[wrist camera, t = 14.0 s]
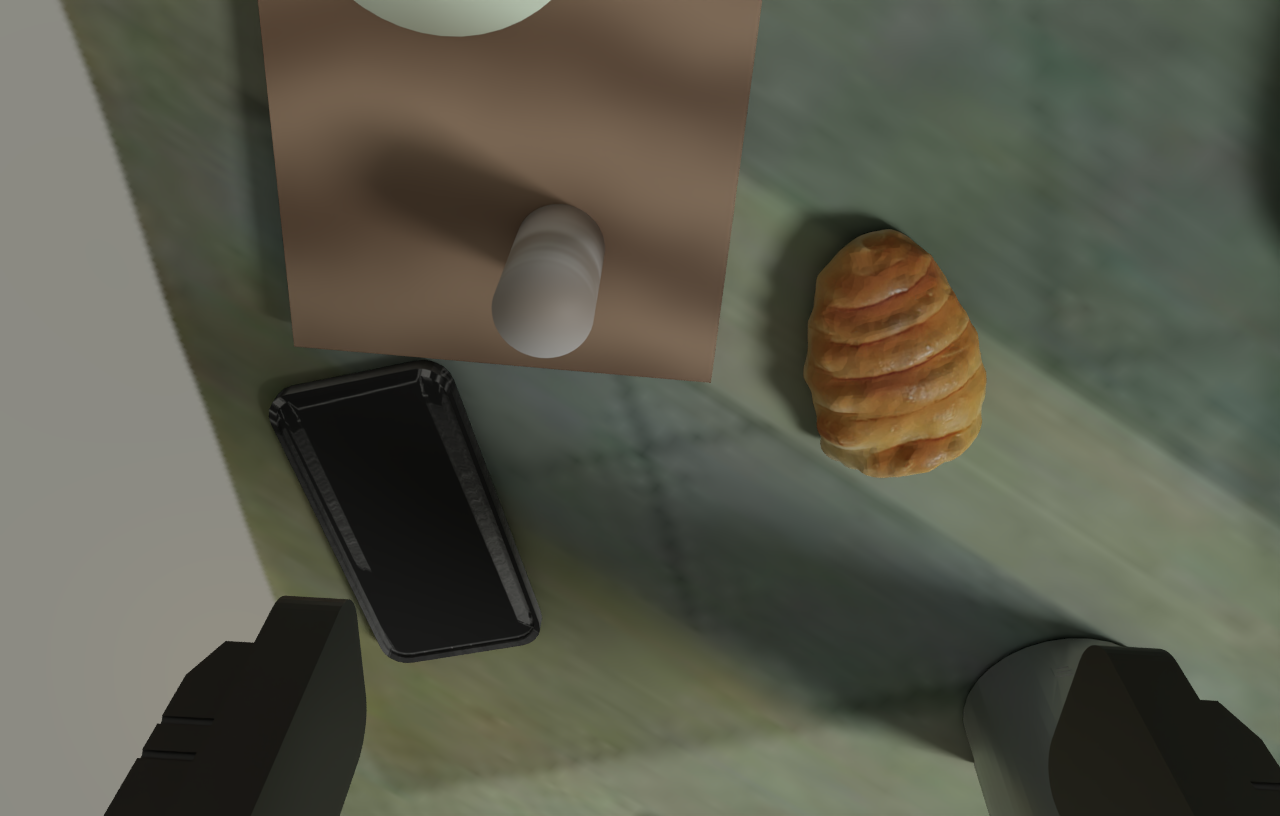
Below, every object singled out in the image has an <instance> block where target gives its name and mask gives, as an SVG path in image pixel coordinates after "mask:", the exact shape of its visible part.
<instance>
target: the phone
mask: <svg viewBox="0 0 1280 816" xmlns="http://www.w3.org/2000/svg"><path fill="white" fill-rule="evenodd" d="M269 419H270V422H271V425H272V427H273V429H274V431H275V433H276V435H277V437H278V439H279V441H280V443H281V445H282V447H283V449H284V451H285V454H286V456H287V458H288V460H289V462H290V464H291V466H292V468H293V470H294V472H295V474H296V476H297V478H298V480H299V482H300V484H301V486H302V488H303V490H304V492H305V494H306V496H307V498H308V500H309V502H310V505H311V507H312V509H313V511H314V513H315V515H316V517H317V519H318V521H319V523H320V525H321V527H322V529H323V531H324V533H325V535H326V537H327V539H328V541H329V543H330V545H331V547H332V549H333V551H334V554H335V556H336V558H337V560H338V562H339V564H340V566H341V568H342V570H343V572H344V574H345V576H346V578H347V580H348V582H349V584H350V586H351V588H352V590H353V592H354V594H355V596H356V598H357V600H358V603H359V605H360V607H361V609H362V611H363V613H364V615H365V617H366V619H367V621H368V623H369V625H370V627H371V629H372V631H373V633H374V635H375V637H376V639H377V641H378V643H379V645H380V647H381V649H382V651H383V652H384V653H385V654H386V655H387V656H388V657H390V658H391V659H393V660H396V661H398V662H403V663H413V662H419V661H426V660H432V659H438V658H445V657H451V656H457V655H464V654H470V653H476V652H483V651H489V650H495V649H502V648H508V647H514V646H521V645H525V644H528V643H530V642H532V641H533V640H535V639H536V637H537V636H538V635H539V631H540V626H541V620H542V615H541V611H540V608H539V606H538V603H537V600H536V598H535V595H534V592H533V590H532V587H531V584H530V582H529V579H528V576H527V574H526V571H525V568H524V566H523V563H522V560H521V558H520V555H519V552H518V550H517V547H516V544H515V542H514V539H513V536H512V534H511V531H510V528H509V526H508V523H507V520H506V518H505V515H504V512H503V510H502V507H501V504H500V502H499V499H498V496H497V494H496V491H495V488H494V486H493V483H492V480H491V478H490V475H489V472H488V470H487V467H486V464H485V462H484V459H483V456H482V454H481V451H480V448H479V446H478V443H477V440H476V438H475V435H474V432H473V430H472V427H471V424H470V422H469V419H468V416H467V414H466V411H465V408H464V406H463V403H462V400H461V398H460V395H459V392H458V390H457V387H456V384H455V382H454V379H453V377H452V376H451V374H450V372H449V371H448V370H446V369H445V368H444V367H443V366H442V365H440V364H438V363H436V362H432V361H428V360H417V361H412V362H407V363H402V364H397V365H392V366H387V367H382V368H377V369H372V370H367V371H362V372H358V373H353V374H348V375H343V376H338V377H333V378H328V379H323V380H318V381H313V382H308V383H303V384H298V385H293V386H290V387H287V388H284V389H283V390H282V391H281V392H280V393H279V394H278V395H277V397H276V398H275V400H274V401H273V403H272V405H271V407H270V409H269Z"/></svg>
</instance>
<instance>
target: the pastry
mask: <svg viewBox="0 0 1280 816" xmlns="http://www.w3.org/2000/svg"><path fill="white" fill-rule="evenodd" d="M803 376H804V379H805V382H806V383H807V384H808V386H809V388H810V390H811V393H812V399H813V405H814V408H815V411H816V415H817V429H818V432H819V434H820V435H821V440H820V445H821V449H822V450H823V452H824V453H825V454H826V455H827V456H828V457H830V458H831V459H833V460H835V461H840V462H842V463H843V464H844V465H845V466H846V467H848V468H851V469H857V470H860V471H861V472H862V473H864V474H865V475H868V476H872V477H878V478H887V477H901V476H908V475H913V474H919V473H925V472H929V471H931V470H933V469H935V468H936V467H938V466H939V465H940V464H942V463H944V462H948V461H951V460H953V459H955V458H957V457H958V456H960V455H961V454H962V453H963V452H964V451H965V450H966V449H967V448H969V446H970V445H971V444H972V442H973V441H974V439H975V438H976V437H977V434H978V433H979V431H980V428H981V424H982V419H981V407H982V403H983V401H984V398H985V387H986V371H985V369H984V366H983V363H982V360H981V353H980V350H979V341H978V333H977V331H976V329H975V328H974V326H973V325H972V324H971V322H970V319H969V317H968V315H967V313H966V311H965V310H964V309H963V308H962V306H961V305H960V303H959V301H958V299H957V297H956V295H955V293H954V292H953V290H952V289H951V287H950V285H949V284H948V282H947V279H946V277H945V275H944V274H943V272H942V271H941V270H940V268H939V266H938V265H937V263H936V262H935V261H934V259H933V257H932V256H931V255H930V254H929V253H927V252H926V251H925V250H924V249H923V248H921V247H920V246H919V245H917V244H916V243H915V242H914V241H912V240H911V239H910V238H909V237H908V236H906V235H904V234H903V233H901V232H898V231H895V230H892V229H885V230H881V231H875V232H870V233H866V234H863V235H861V236H859V237H857V238H855V239H854V240H852V241H851V242H850V243H848V244H847V245H846V246H845V247H843V248H842V249H841V250H840V251H839V252H838V253H837V254H836V255H835V256H834V257H833V258H832V260H831V261H830V262H829V263H828V264H827V265H826V266H825V267H824V269H823V270H822V271H821V272H820V273H819V274H818V276H817V279H816V291H815V296H814V308H813V310H812V313H811V316H810V318H809V320H808V351H807V357H806V361H805V364H804V370H803Z"/></svg>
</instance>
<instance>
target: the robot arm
mask: <svg viewBox="0 0 1280 816" xmlns="http://www.w3.org/2000/svg"><path fill="white" fill-rule="evenodd" d="M963 724H964V728H965V731H966V734H967V738H968V741H969V744H970V747H971V751H972V754H973V757H974V761H975V763H974V767H975V770H976V773H977V776H978V780H979V783H980V786H981V789H982V793H983V796H984V799H985V802H986V806H987V809H988V812H989V815H990V816H1280V767H1279V765H1278V764H1277V762H1276V761H1275V759H1274V758H1273V756H1272V755H1271V753H1270V752H1269V750H1268V749H1267V747H1266V746H1265V744H1264V742H1263V741H1262V740H1261V739H1260V738H1259V737H1258V736H1257V735H1256V734H1255V733H1253V732H1252V731H1251V730H1250V729H1249V728H1248V727H1247V726H1245V725H1244V724H1243V723H1242V722H1241V721H1240V720H1239V719H1237V718H1236V717H1235V716H1234V715H1233V714H1232V713H1231V712H1229V711H1228V710H1227V709H1226V708H1225V707H1224V706H1223V705H1222V704H1220V703H1219V702H1218V701H1209V700H1200V699H1199V697H1198V696H1197V694H1196V693H1195V691H1194V689H1193V688H1192V686H1191V684H1190V683H1189V681H1188V680H1187V678H1186V676H1185V675H1184V673H1183V671H1182V670H1181V668H1180V667H1179V665H1178V663H1177V662H1176V660H1175V659H1174V658H1173V656H1172V655H1171V654H1170V653H1168V652H1167V651H1165V650H1163V649H1155V648H1137V647H1122V646H1119V645H1116V644H1113V643H1111V642H1107V641H1101V640H1095V639H1078V638H1067V639H1061V640H1054V641H1047V642H1043V643H1040V644H1037V645H1033V646H1030V647H1027V648H1024V649H1022V650H1020V651H1018V652H1015V653H1013V654H1011V655H1009V656H1007V657H1005V658H1004V659H1002V660H1001V661H1000V662H998V663H997V664H995V665H994V666H992V667H991V668H990V669H989V670H988V671H987V672H986V673H985V674H984V675H983V676H982V677H981V678H980V679H979V680H978V681H977V682H976V683H975V685H974V687H973V688H972V690H971V691H970V693H969V694H968V697H967V700H966V703H965V706H964V710H963ZM365 725H366V693H365V684H364V675H363V666H362V657H361V648H360V639H359V630H358V622H357V614H356V609H355V605H354V603H353V602H352V601H351V600H348V599H331V598H313V597H296V596H282V597H280V598H279V599H278V600H277V601H276V603H275V604H274V606H273V608H272V610H271V611H270V613H269V615H268V617H267V619H266V621H265V623H264V625H263V627H262V629H261V631H260V633H259V634H258V636H257V638H256V640H255V642H254V643H250V642H233V641H225V642H224V643H223V644H222V645H221V646H219V647H218V648H217V649H216V650H215V651H213V652H212V653H211V654H210V655H209V656H208V657H206V658H205V659H204V660H203V661H202V662H200V663H199V664H198V665H197V666H196V667H195V668H193V669H192V670H191V671H190V672H189V673H188V674H186V676H185V677H184V679H183V681H182V682H181V684H180V686H179V688H178V689H177V691H176V693H175V694H174V696H173V698H172V700H171V701H170V703H169V705H168V706H167V708H166V710H165V712H164V713H163V715H162V722H161V724H157V725H156V727H155V729H154V731H153V732H152V734H151V736H150V737H149V739H148V741H147V743H146V744H145V746H144V747H143V752H142V756H141V758H137V759H136V761H135V763H134V765H133V766H132V768H131V770H130V771H129V773H128V775H127V777H126V778H125V780H124V782H123V783H122V785H121V787H120V789H119V790H118V792H117V794H116V795H115V797H114V799H113V801H112V802H111V804H110V806H109V807H108V809H107V811H106V812H105V814H104V816H340V813H341V810H342V807H343V804H344V801H345V798H346V796H347V793H348V790H349V787H350V784H351V781H352V778H353V775H354V772H355V769H356V766H357V763H358V760H359V757H360V753H361V749H362V745H363V739H364V733H365Z"/></svg>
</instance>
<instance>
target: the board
mask: <svg viewBox="0 0 1280 816" xmlns="http://www.w3.org/2000/svg"><path fill="white" fill-rule="evenodd" d="M761 5H762V0H258V7H259V17H260V26H261V36H262V45H263V55H264V64H265V73H266V83H267V92H268V102H269V111H270V121H271V130H272V140H273V149H274V159H275V168H276V178H277V187H278V197H279V206H280V216H281V225H282V235H283V244H284V254H285V263H286V273H287V282H288V292H289V301H290V311H291V320H292V330H293V339H294V346H295V347H307V348H318V349H330V350H341V351H353V352H364V353H376V354H387V355H399V356H410V357H422V358H433V359H445V360H456V361H468V362H479V363H491V364H502V365H514V366H525V367H537V368H548V369H560V370H571V371H583V372H594V373H606V374H617V375H629V376H640V377H652V378H663V379H675V380H686V381H698V382H709V383H711V377H712V370H713V362H714V355H715V347H716V340H717V333H718V325H719V318H720V310H721V303H722V295H723V288H724V280H725V273H726V265H727V258H728V251H729V243H730V236H731V228H732V221H733V213H734V206H735V198H736V191H737V184H738V176H739V169H740V161H741V154H742V146H743V139H744V131H745V124H746V116H747V109H748V102H749V94H750V87H751V79H752V72H753V64H754V57H755V49H756V42H757V35H758V27H759V20H760V12H761Z"/></svg>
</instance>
